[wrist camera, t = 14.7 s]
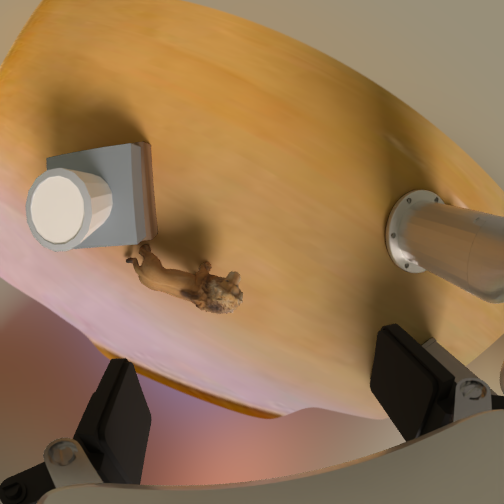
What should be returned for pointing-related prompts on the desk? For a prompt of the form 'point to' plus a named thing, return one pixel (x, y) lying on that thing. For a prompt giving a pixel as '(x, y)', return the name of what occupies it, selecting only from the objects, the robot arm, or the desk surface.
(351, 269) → the desk surface
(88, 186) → the beige cup
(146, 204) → the base block
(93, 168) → the top block
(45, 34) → the desk surface
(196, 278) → the lion figurine
